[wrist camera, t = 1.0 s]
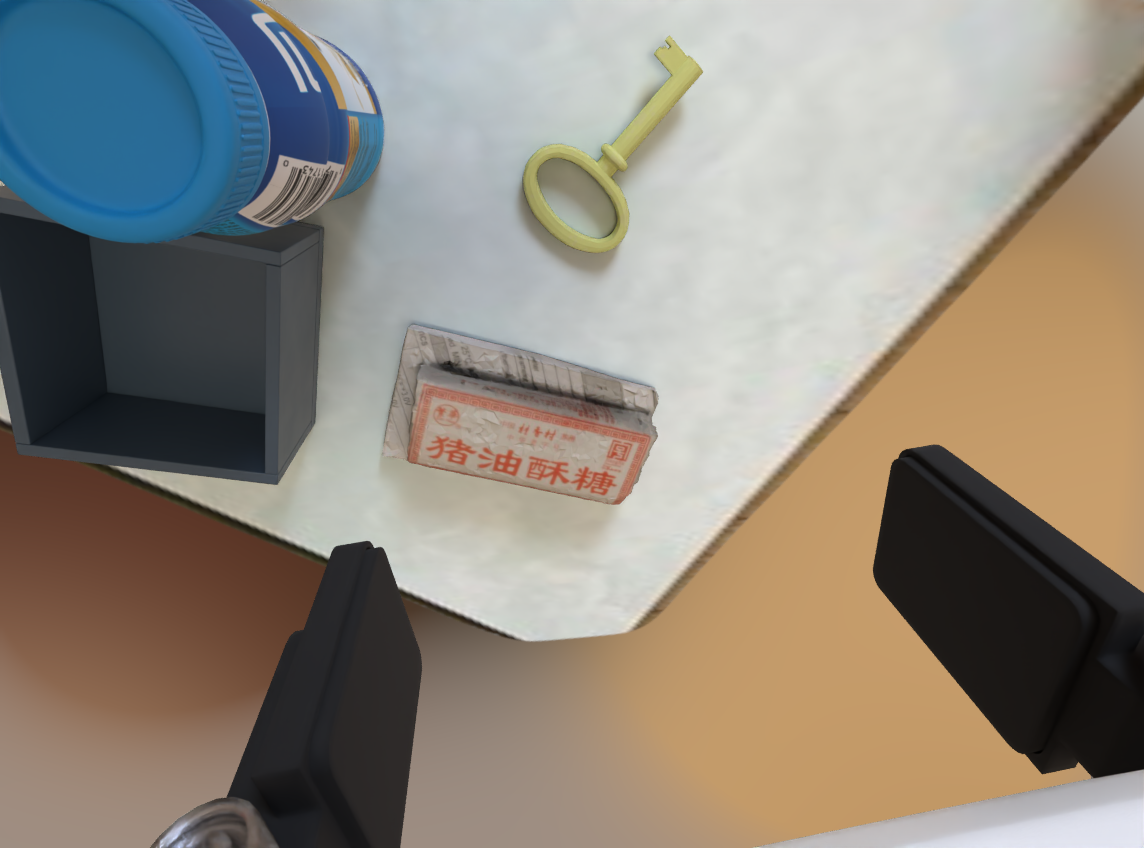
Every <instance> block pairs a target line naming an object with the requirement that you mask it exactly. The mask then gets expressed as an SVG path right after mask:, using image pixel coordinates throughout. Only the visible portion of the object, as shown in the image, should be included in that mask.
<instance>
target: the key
mask: <svg viewBox="0 0 1144 848" xmlns="http://www.w3.org/2000/svg"><path fill="white" fill-rule="evenodd" d="M665 41H666V43H667V44H668V45H669V46H670V47H669V48H668V49H667V47H666V46H664V47H663V48H661V47H659V48H658V49H657V51H656V52H655V53H654V55H655V56H656V57H657V58H658V60H659V61H660V62H661V63H662V64H663V65H664V67H665V68H666V69H667V70H668V71H669V72H670V74H671V77H670V78H669V79H668V80H667V81H666V82H665V84H664V85H663V86H662V87H661V88H660V89H659V91H658V92H657V93H656V94H655V95H654V96H653V98H652V99H651V100H650V101H649V102H648V103H647V105H646V106H645V107H644V108H643V109H642V110H641V112H640V113H639V114H638V115H637V116H636V117H635V119H634V120H633V121H632V122H631V123H630V124H629V126H628V127H627V128H626V129H625V130H624V131H623V133H622V134H621V135H620V136H619V137H618V138H617V140H616V141H615V142H614V143H613V144H612V145H611V146H610V145H608V144H604V145H603V146H602V147H601V150H602V153H603V156H602V157H601V158H600V159H599V161H598V162H596V161H595V160H594V159H592V158H591V157H590V156H588V155H587V154H586V153H584V152H582V151H580V150H578V149H576V148H574V147H570V146H566V145H562V144H554V145H549V146H545V147H543V148H541V149H540V150H538V151H537V152H536V153H535V154H534V155H533V156H532V157H531V158H530V160H529V161H528V163H527V164H526V167H525V170H524V177H523V185H524V192H525V195H526V198H527V201H528V203H529V205H530V208H531V210H532V212H533V213H534V215H535V216H536V218H537V219H538V220H539V221H540V223H541V224H542V225H543V226H544V227H545V228H546V229H547V230H548V231H549V232H550V233H551V234H552V235H553V236H555V237H556V238H557V239H558V240H560V241H561V242H563V243H564V244H566V245H568V246H570V247H572V248H574V249H577V250H580V251H585V252H591V253H600V252H606V251H609V250H611V249H613V248H614V247H616V246H617V245H618V244H619V243H620V242H621V240H622V239H623V238H624V236H625V234H626V232H627V229H628V224H629V211H628V207H627V203H626V199H625V197H624V195H623V193H622V191H621V189H620V188H619V186H618V185H617V184H616V182H615V181H614V179H613V178H612V176H613V174H614V173H615V172H616V171H617V170H620V171H623V172H624V171H625V170H626V169H627V163H626V160H627V159H628V157H629V156H630V155H631V154H632V153H633V152H634V151H635V149H636V148H637V147H638V146H639V145H640V144H641V143H642V141H643V140H644V139H645V138H646V137H647V136H648V135H649V133H650V132H651V131H652V130H653V129H654V128H655V127H656V125H657V124H658V123H659V122H660V121H661V120H662V119H663V117H664V116H665V115H666V114H667V113H668V112H669V111H670V109H671V108H672V107H673V106H674V105H675V104H676V103H677V101H678V100H679V99H680V98H681V97H682V96H683V95H684V93H685V92H686V91H687V90H688V89H689V88H690V87H691V85H692V84H693V83H694V82H695V81H696V80H697V79H698V78H699V76H700V75H701V74H702V73H703V71H702V69H701V68H700V66H699V65H698V64H697V63H696V61H695V60H694V59H693V58H691V57H690V56H688V57H687V56H686V55H685V53H684V52H683V51H682V50H681V49H680V47H679V46H678V45H677V44H676V42H675V41H674V40H673V39H672V38H671V36H668V37H667V39H666V40H665ZM551 158H561V159H564V160H568V161H570V162H572V163H574V164H576V165H578V166H580V167H581V168H582V169H584V170H585V171H587V172H588V173H589V174H590V175H591V176H592V177H593V178H595V179H596V180H597V181H598V183H599V184H600V185H601V186H602V187H603V188H604V190H605V191H606V192H607V194H608V195H609V196H610V198H611V200H612V202H613V204H614V207H615V210H616V213H617V218H618V222H617V225H616V227H615V229H614V231H613V232H612V234H610V235H609V236H608V237H605V238H602V239H596V238H592V237H588V236H585V235H583V234H580V233H578V232H577V231H575V230H573V229H572V228H570V227H569V226H567V225H566V224H565V223H564V222H563V221H561V220H560V219H559V218H558V217H557V216H556V215H555V214H554V212H553V211H552V210H551V208H550V207H549V206H548V204H547V203H546V201H545V199H544V197H543V195H542V193H541V190H540V188H539V185H538V182H537V173H538V169H539V167H540V166H541V165H542V164H543V163H544V162H545V161H547V160H548V159H551Z"/></svg>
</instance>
